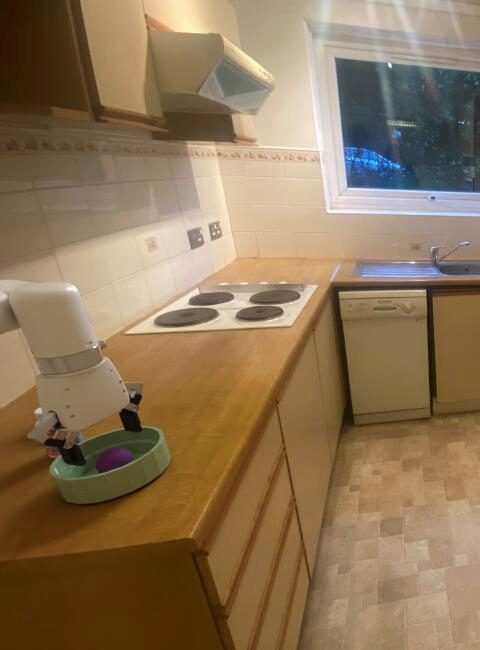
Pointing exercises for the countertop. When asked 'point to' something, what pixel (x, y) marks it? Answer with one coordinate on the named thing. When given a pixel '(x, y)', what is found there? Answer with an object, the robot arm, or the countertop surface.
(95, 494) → the bowl
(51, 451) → the pill bottle
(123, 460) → the ball
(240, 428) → the countertop surface
